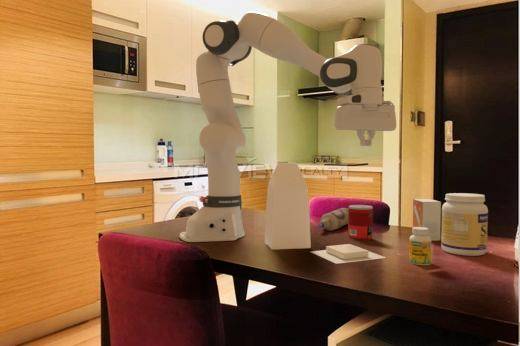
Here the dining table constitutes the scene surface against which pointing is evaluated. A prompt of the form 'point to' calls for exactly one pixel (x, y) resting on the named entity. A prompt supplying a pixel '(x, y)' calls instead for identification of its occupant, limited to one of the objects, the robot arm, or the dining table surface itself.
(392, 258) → the dining table surface
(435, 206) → the small box
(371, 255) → the mat
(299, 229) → the milk
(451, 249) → the supplement tub
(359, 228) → the canned food
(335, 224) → the decorative bottle
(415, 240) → the supplement bottle
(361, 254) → the tile
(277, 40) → the robot arm
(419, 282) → the dining table surface
